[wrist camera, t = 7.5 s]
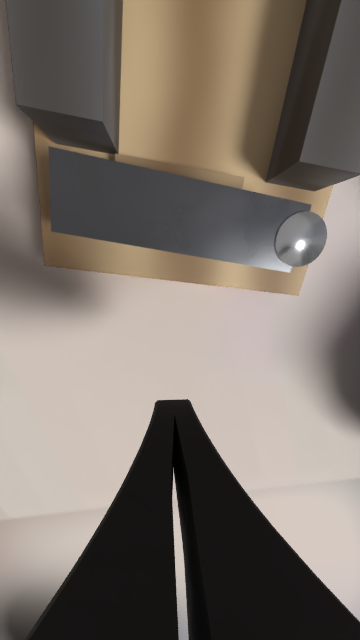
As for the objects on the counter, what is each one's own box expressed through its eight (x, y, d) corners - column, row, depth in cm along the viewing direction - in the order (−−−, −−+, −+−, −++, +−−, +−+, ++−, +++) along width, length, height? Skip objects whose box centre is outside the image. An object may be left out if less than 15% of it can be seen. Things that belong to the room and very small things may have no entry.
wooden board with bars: (395, -124, 10) (649, -530, 5) (278, 288, 16) (333, 307, 11) (37, -268, 8) (-189, -1208, 3) (63, 262, 14) (8, 271, 9)
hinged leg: (294, 218, 12) (337, 209, 9) (278, 270, 13) (313, 276, 10) (79, 173, 11) (46, 144, 8) (78, 235, 12) (49, 231, 9)
